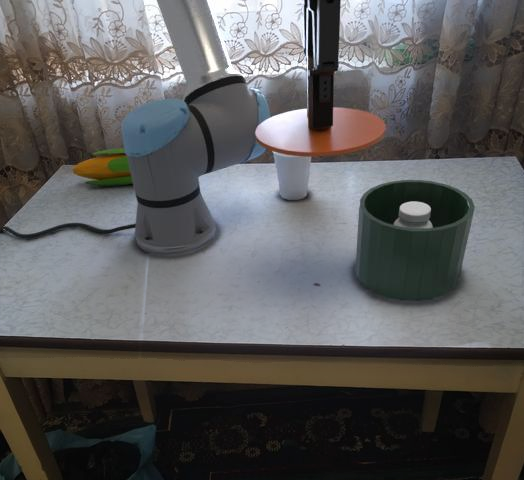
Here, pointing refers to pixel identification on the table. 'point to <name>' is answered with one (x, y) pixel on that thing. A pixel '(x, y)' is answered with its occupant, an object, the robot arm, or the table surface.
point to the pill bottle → (414, 215)
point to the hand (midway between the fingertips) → (319, 121)
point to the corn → (106, 169)
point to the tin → (412, 240)
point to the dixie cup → (292, 175)
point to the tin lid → (319, 130)
